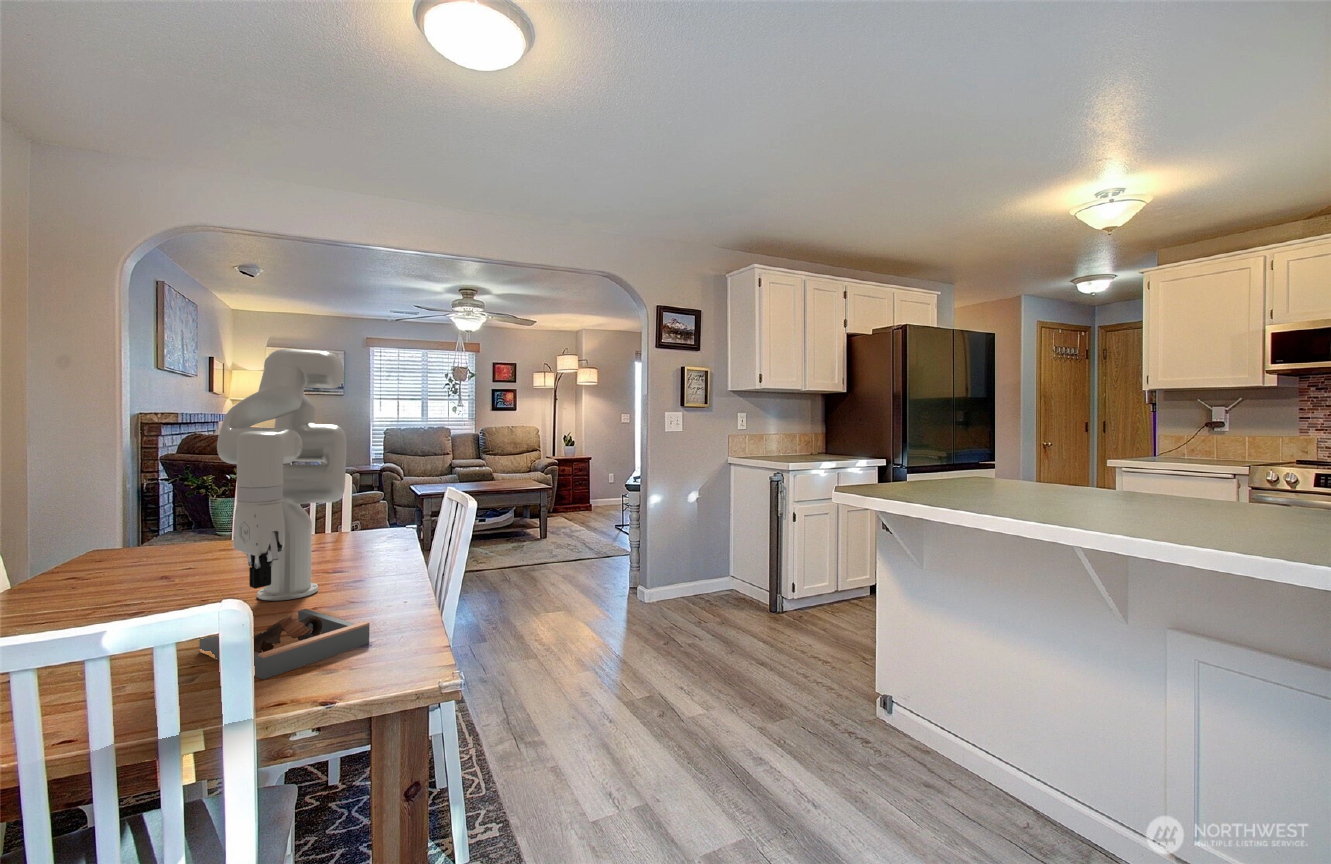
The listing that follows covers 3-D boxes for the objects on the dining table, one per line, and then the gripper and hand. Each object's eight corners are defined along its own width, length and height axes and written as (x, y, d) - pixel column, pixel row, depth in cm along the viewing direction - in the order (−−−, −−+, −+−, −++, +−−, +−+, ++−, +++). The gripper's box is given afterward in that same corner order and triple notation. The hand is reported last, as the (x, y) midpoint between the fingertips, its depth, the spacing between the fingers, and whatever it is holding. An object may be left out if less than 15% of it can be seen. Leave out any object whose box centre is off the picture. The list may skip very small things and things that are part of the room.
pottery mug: (288, 674, 101) (261, 634, 100) (257, 688, 104) (231, 649, 104) (344, 633, 112) (320, 597, 111) (314, 647, 116) (291, 612, 115)
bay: (199, 652, 108) (199, 630, 108) (305, 622, 124) (305, 604, 124) (263, 679, 97) (263, 655, 97) (369, 643, 114) (369, 622, 114)
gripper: (219, 492, 116) (219, 583, 117) (260, 501, 109) (260, 599, 110) (260, 487, 122) (260, 574, 123) (301, 496, 115) (301, 588, 116)
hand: (260, 585), depth 117 cm, fingers closed
